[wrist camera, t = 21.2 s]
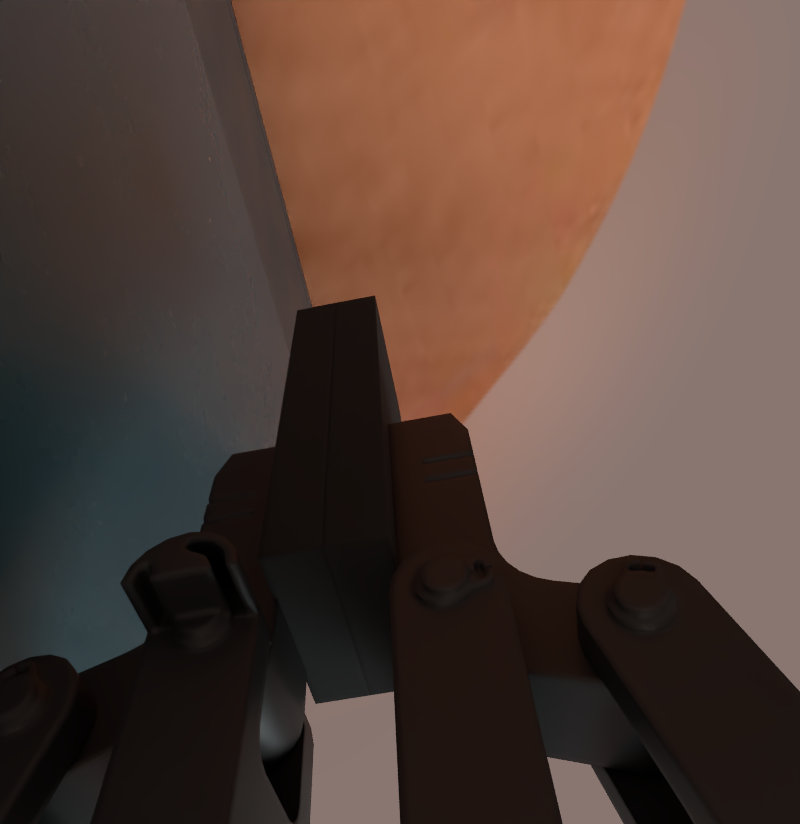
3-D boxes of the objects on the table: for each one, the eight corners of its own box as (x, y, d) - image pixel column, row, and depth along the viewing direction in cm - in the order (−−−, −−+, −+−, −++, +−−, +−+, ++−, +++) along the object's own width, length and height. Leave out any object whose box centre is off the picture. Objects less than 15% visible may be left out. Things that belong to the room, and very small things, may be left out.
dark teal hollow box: (-7, 426, 35) (-104, 555, 28) (-265, -11, 25) (-529, 7, 17) (328, 366, 34) (320, 482, 27) (201, -112, 24) (132, -138, 17)
